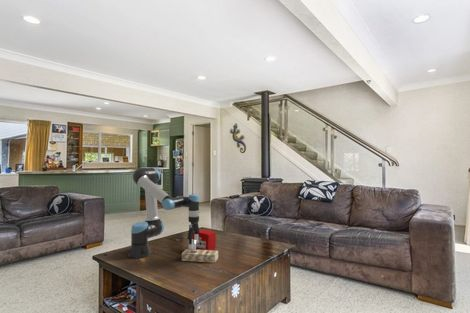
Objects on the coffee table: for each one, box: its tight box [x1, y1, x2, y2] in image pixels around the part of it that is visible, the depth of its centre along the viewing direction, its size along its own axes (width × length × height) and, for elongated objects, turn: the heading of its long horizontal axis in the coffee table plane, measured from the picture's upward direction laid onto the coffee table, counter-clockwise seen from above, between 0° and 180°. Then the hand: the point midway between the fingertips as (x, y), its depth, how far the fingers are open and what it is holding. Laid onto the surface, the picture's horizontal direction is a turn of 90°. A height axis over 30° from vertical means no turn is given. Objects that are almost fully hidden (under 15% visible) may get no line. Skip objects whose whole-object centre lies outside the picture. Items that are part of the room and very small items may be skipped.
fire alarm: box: [192, 229, 217, 251], centre depth 217 cm, size 16×11×15 cm
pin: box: [191, 240, 196, 253], centre depth 198 cm, size 4×4×12 cm
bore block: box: [181, 248, 219, 264], centre depth 197 cm, size 24×10×5 cm, turn 81°
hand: (193, 245), depth 198 cm, fingers open, 13 cm apart
